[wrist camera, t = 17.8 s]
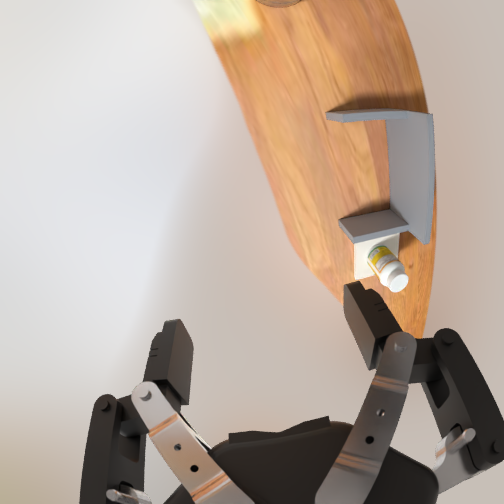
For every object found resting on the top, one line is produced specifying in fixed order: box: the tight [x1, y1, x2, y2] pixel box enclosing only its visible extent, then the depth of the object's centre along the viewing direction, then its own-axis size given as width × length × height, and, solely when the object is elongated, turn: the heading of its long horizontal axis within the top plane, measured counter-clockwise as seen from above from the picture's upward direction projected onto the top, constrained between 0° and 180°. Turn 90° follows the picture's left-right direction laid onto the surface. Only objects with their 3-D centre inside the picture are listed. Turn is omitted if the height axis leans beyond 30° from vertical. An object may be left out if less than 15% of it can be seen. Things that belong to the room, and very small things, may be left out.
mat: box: [354, 233, 400, 280], centre depth 51 cm, size 10×10×1 cm
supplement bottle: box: [366, 244, 408, 292], centre depth 46 cm, size 5×5×10 cm
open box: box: [326, 108, 435, 245], centre depth 37 cm, size 20×12×12 cm, turn 12°
